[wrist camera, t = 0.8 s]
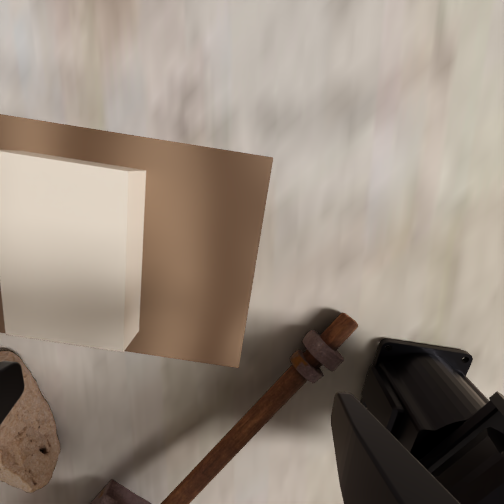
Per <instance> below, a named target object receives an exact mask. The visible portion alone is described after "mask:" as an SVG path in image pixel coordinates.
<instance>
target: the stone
mask: <svg viewBox="0 0 504 504" xmlns="http://www.w3.org/2000/svg"><path fill="white" fill-rule="evenodd" d="M2 361H13V362H18V363H20V365H21V367H22V373H23V378H24V384H25V387H24V391H23V394H22V395H21V397H20V398H19V400H18V401H17V402H16V404H15V405H14V407H13V408H12V410H11V411H10V412H9V414H8V415H7V417H6V418H5V419H4V421H3V422H2V424H1V425H0V480H1V481H2V482H6V483H7V484H8V485H11V486H14V487H16V488H21V489H22V490H24V491H25V492H27V493H32V492H34V491H36V490H37V489H41V488H42V487H44V486H45V485H47V484H48V482H49V481H50V479H51V478H52V474H53V471H54V469H55V466H56V463H57V460H58V455H59V453H60V450H61V448H60V442H59V440H58V437H57V434H56V425H55V421H54V419H53V414H52V412H51V410H50V407H49V405H48V403H47V402H46V401H45V399H44V398H43V396H42V395H41V392H40V390H39V388H38V386H37V382H36V381H35V380H34V378H33V377H32V375H31V373H30V371H29V370H28V369H27V368H26V366H25V365H24V363H23V362H22V360H21V359H20V358H19V357H18V356H17V355H16V354H14V353H13V352H10V351H0V362H2Z"/></svg>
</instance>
